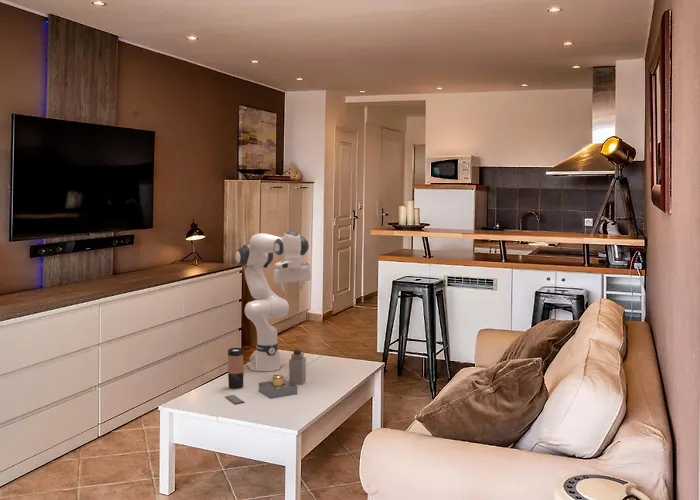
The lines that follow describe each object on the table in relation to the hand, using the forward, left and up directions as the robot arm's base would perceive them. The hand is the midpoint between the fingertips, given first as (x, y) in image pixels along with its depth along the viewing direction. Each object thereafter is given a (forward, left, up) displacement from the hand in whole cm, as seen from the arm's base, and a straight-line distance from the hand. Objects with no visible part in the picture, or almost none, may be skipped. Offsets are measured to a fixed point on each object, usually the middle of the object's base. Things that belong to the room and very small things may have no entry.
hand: (292, 290), depth 344 cm
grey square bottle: (+5, 0, -48) cm, 48 cm away
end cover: (+15, -16, -47) cm, 52 cm away
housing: (+15, -16, -48) cm, 53 cm away
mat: (+13, -34, -48) cm, 60 cm away
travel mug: (-4, -30, -48) cm, 57 cm away
